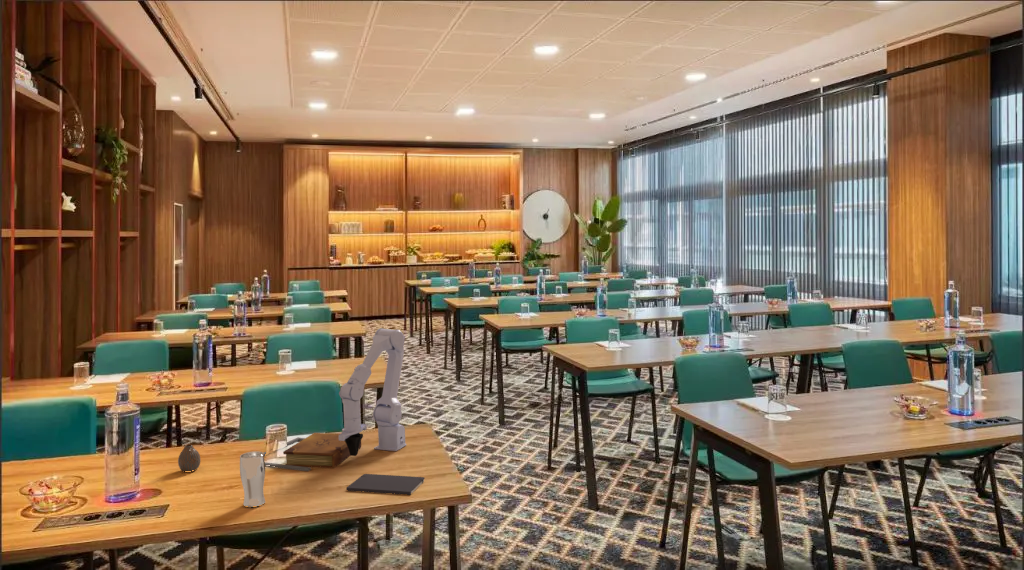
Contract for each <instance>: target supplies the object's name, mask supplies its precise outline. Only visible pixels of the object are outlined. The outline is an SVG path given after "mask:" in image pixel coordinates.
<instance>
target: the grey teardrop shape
mask: <svg viewBox="0 0 1024 570" xmlns="http://www.w3.org/2000/svg"><path fill="white" fill-rule="evenodd" d="M177 464H178V467H179V469H180V471H182V472H183V471H192V470H195V469H197V468H198V469H199V467H200V464H201V456H200V453H199V451H198V450H197V449H196V448H195V447H194V446H193V444H185V445H184V446H183V448H182V451H181V452H180V453H179V455H178V458H177ZM198 469H197V470H198Z"/></svg>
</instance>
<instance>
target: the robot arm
mask: <svg viewBox="0 0 1024 570" xmlns="http://www.w3.org/2000/svg"><path fill="white" fill-rule="evenodd" d="M405 340H406V336H405V334H404V333H403V332H402V331H401V330H400V329H391V328H389V329H388V328H378V329H377V330H376V331H375V333H374V335H373V336H372V344H371V346H370V347H369V349H368V351H367V354H366V356H365V358H364V359H363V362H362V363H361V364H357V365H356V366H355V368H354V371H352V374H351V376H350V377H349V378H348V380H347V382H345V383H343V385H342V386H341V387H340V391H339V392H338V395H339V397H340V398H341V403H342V405H343V422H344V423H343V424H344V425H343V426H344V428H342V429H341V431H342V432H340V433H339V434H340V435H339V441H345V442H346V444H347V446H348V449H349V452H350V456H353V457H356V456H358V454H359V449H360V448H359V445H360V442H361V443H362V439H363V437H364V434H363V433H362V431H363V432H364V431H366V430H367V424H365V423H362V420H361V419H362V418H361V399H362V397H363V395H364V392H365V390H364V389H365V385H366V384H367V382H368V380H369V378H370V377H371V375H372V367H373V366H374V364H375V363H376V362H377V360H378V359H379V358H380V356H381V354H382V353H383V352H386V353H387V354H388V358H387V363H386V369H385V375H384V382H383V383H384V384H383V389H382V395H381V397H380V398H379V399H377V401H376V404H375V407H374V409H373V411H372V417H373V419H374V420H375V421H376V424H377V435H378V437H377V439H378V445H376V446H374V447H373V449H374V450H381V451H390V452H391V451H392V452H397V451H399V450H401V449H402V448H404V447H406V446H407V443H406V429H405V426H404V424H400V421H401V419H402V416H403V414H402V413H403V412H402V403H401V402H400V401H399V399H398V393H399V388H400V387H399V386H400V379H401V375H402V367H403V361H404V355H405V354H404V353H405V347H404V346H405Z"/></svg>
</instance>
